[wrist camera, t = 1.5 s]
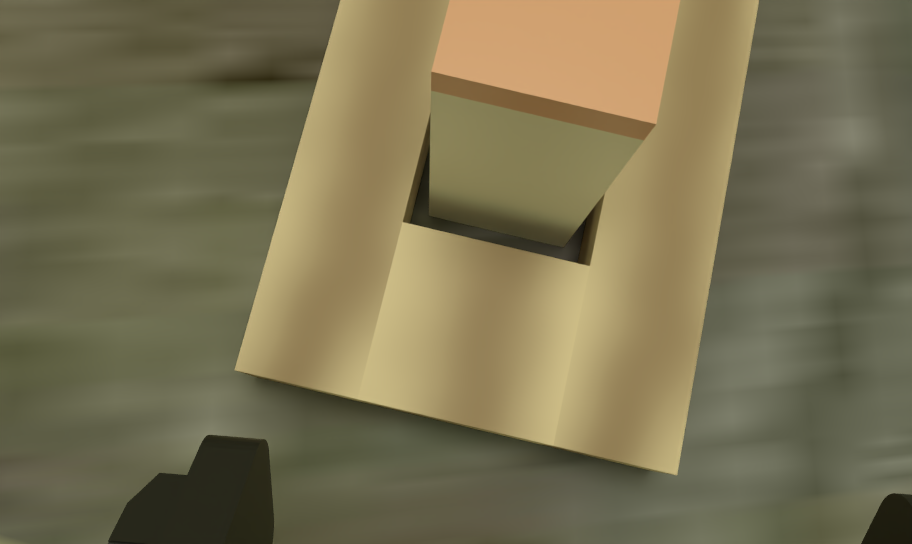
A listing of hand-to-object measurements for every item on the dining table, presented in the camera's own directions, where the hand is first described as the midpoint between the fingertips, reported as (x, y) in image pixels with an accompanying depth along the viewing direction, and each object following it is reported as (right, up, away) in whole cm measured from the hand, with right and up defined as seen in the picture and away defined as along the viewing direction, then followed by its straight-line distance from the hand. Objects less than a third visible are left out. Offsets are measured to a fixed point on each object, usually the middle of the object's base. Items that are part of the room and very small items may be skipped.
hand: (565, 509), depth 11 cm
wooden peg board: (0, +6, +19) cm, 20 cm away
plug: (0, +6, +19) cm, 20 cm away
